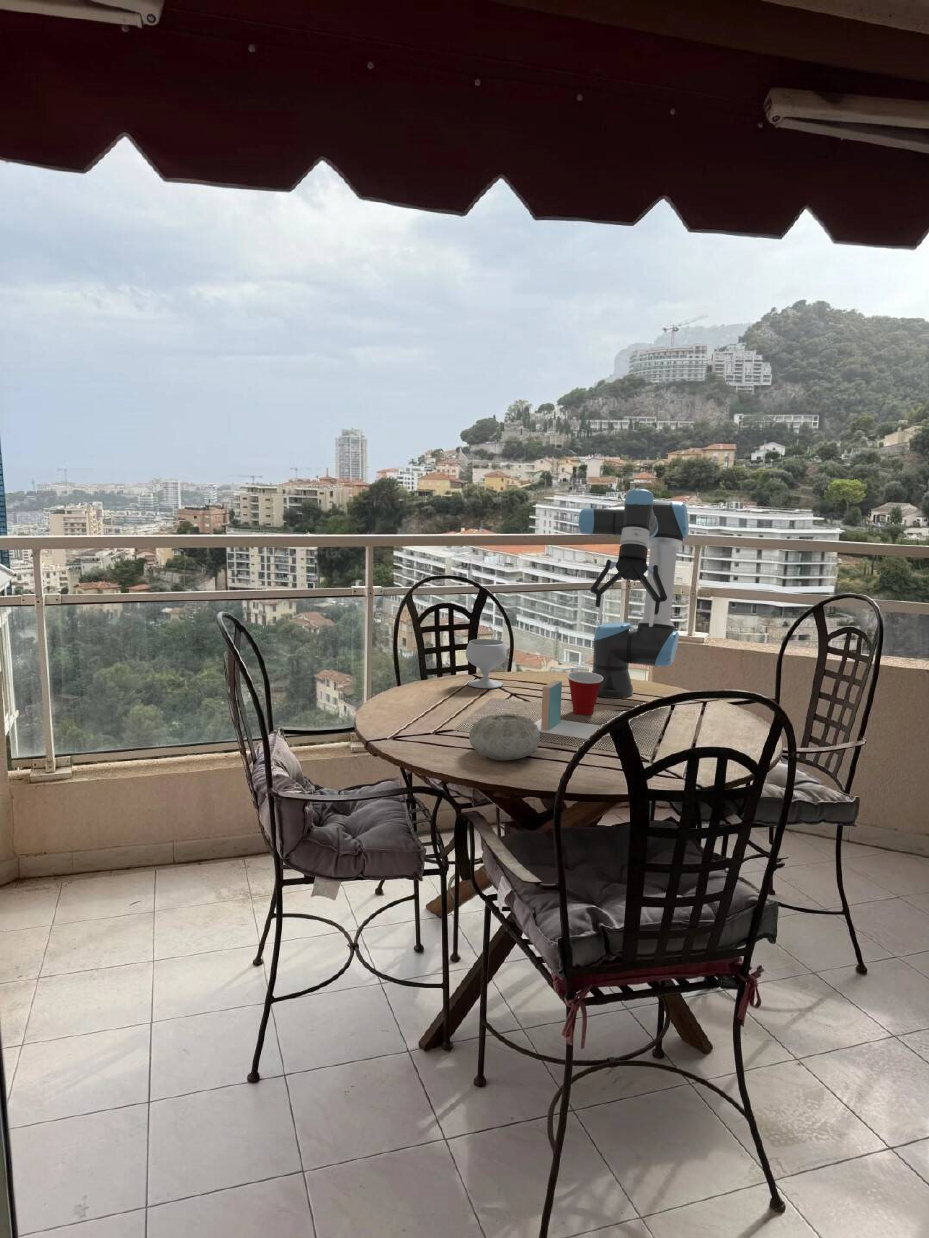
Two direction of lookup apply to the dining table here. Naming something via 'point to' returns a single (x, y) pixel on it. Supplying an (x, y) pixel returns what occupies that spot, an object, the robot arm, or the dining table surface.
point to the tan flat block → (551, 705)
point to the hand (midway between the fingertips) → (625, 622)
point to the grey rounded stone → (505, 736)
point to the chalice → (486, 660)
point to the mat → (570, 729)
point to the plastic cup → (584, 691)
